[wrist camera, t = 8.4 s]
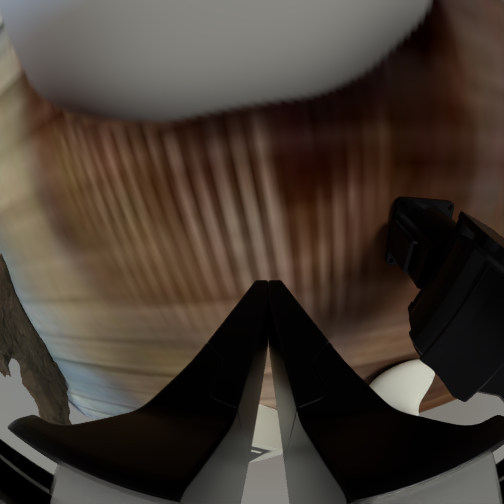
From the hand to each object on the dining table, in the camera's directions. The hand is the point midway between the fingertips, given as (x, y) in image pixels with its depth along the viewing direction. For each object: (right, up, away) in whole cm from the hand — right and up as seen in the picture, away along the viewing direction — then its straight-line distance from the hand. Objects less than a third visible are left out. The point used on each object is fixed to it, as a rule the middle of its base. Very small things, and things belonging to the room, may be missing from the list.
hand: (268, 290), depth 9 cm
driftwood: (-39, -11, +24) cm, 47 cm away
